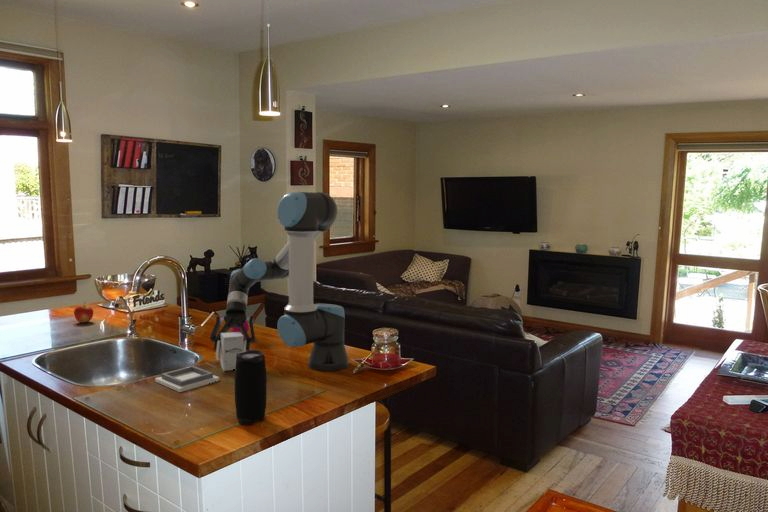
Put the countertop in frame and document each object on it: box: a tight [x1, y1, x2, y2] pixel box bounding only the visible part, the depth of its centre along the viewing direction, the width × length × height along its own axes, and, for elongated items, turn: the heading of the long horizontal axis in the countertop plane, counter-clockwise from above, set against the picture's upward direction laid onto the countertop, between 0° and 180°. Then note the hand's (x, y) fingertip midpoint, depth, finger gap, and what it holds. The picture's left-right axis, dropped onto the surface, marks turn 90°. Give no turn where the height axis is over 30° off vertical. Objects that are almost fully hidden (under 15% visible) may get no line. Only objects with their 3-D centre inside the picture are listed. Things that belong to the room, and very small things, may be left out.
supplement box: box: [220, 331, 244, 372], centre depth 207 cm, size 7×7×13 cm
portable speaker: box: [233, 349, 268, 426], centre depth 161 cm, size 9×9×20 cm
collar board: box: [154, 365, 220, 393], centre depth 192 cm, size 15×15×3 cm
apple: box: [73, 302, 94, 324], centre depth 270 cm, size 8×8×10 cm
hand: (230, 358), depth 204 cm, fingers closed on supplement box, 9 cm apart
